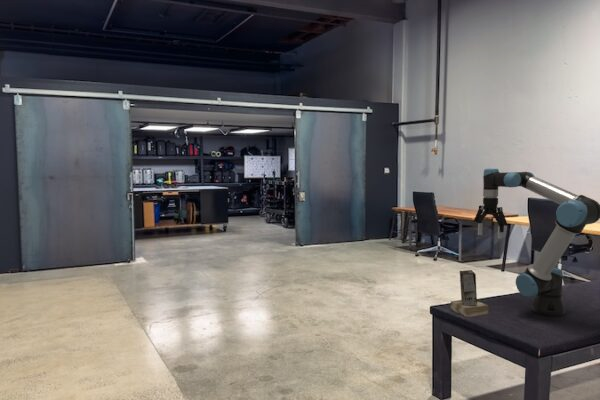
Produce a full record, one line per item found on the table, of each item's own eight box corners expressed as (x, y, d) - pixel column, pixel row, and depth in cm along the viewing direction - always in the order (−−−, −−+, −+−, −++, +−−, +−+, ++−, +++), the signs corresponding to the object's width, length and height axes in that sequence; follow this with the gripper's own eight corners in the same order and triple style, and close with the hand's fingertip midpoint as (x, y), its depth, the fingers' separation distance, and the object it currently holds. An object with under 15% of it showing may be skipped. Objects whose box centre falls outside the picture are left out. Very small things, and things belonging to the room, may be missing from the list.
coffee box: (477, 305, 242) (476, 274, 241) (464, 305, 243) (462, 274, 242) (473, 300, 251) (472, 269, 250) (461, 300, 252) (459, 270, 250)
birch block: (488, 315, 244) (488, 305, 243) (467, 318, 239) (467, 308, 239) (471, 307, 256) (471, 298, 255) (450, 310, 251) (450, 301, 251)
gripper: (515, 198, 248) (514, 239, 249) (477, 195, 270) (477, 233, 272) (504, 199, 245) (503, 240, 246) (467, 196, 267) (467, 234, 268)
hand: (489, 236), depth 259 cm, fingers open, 13 cm apart
